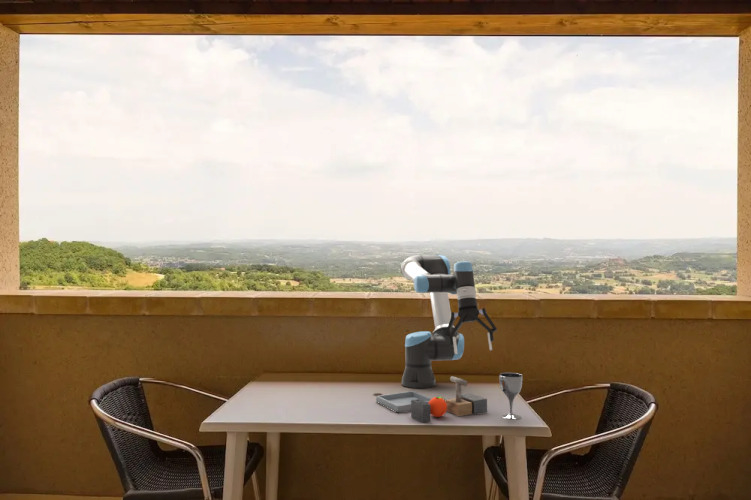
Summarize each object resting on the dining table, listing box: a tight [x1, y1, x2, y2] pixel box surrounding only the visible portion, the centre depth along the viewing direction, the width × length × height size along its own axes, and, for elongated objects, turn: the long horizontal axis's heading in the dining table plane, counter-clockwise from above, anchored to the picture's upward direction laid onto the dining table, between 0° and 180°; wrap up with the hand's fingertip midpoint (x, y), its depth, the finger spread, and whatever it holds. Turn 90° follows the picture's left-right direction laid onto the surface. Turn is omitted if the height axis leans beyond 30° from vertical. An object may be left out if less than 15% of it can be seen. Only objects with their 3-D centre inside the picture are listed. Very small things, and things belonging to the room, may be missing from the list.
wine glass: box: [499, 372, 523, 421], centre depth 195 cm, size 8×8×15 cm
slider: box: [445, 375, 473, 417], centre depth 200 cm, size 8×6×12 cm
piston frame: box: [410, 392, 488, 424], centre depth 198 cm, size 9×28×6 cm, turn 117°
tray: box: [375, 390, 432, 413], centre depth 212 cm, size 17×17×2 cm
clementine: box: [428, 396, 448, 418], centre depth 196 cm, size 8×7×7 cm
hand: (473, 352), depth 212 cm, fingers open, 13 cm apart
